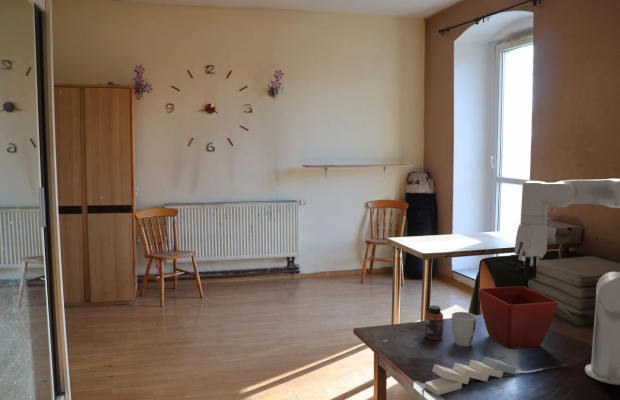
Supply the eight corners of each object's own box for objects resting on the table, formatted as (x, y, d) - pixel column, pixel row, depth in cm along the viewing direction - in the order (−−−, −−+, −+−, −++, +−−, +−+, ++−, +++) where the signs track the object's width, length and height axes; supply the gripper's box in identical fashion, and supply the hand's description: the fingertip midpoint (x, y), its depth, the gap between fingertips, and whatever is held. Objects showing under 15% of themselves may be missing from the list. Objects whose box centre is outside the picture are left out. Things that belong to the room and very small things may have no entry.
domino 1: (469, 377, 145) (443, 370, 143) (467, 384, 145) (441, 377, 142) (459, 371, 150) (434, 364, 147) (457, 377, 150) (432, 370, 147)
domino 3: (489, 375, 148) (466, 369, 145) (487, 381, 148) (464, 375, 145) (477, 368, 153) (454, 362, 149) (475, 374, 153) (452, 369, 149)
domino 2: (461, 383, 144) (437, 389, 140) (461, 389, 144) (437, 396, 140) (449, 375, 149) (425, 382, 144) (448, 382, 149) (425, 389, 144)
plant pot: (556, 349, 173) (559, 301, 171) (507, 354, 168) (510, 304, 166) (520, 329, 191) (523, 285, 189) (475, 333, 187) (477, 288, 185)
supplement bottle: (444, 336, 183) (445, 306, 182) (439, 342, 178) (440, 310, 177) (428, 333, 186) (429, 303, 185) (422, 338, 181) (424, 307, 180)
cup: (476, 349, 172) (477, 320, 171) (451, 347, 174) (452, 318, 173) (473, 340, 180) (475, 312, 179) (449, 338, 182) (451, 311, 180)
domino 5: (516, 368, 153) (497, 363, 149) (514, 374, 153) (495, 369, 149) (503, 361, 158) (484, 356, 154) (501, 367, 158) (482, 362, 153)
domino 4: (503, 371, 151) (483, 366, 147) (501, 378, 151) (481, 372, 147) (490, 365, 155) (470, 359, 151) (488, 371, 155) (468, 366, 151)
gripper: (538, 217, 166) (534, 272, 168) (507, 220, 159) (504, 277, 161) (559, 220, 160) (555, 277, 162) (528, 223, 152) (524, 283, 155)
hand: (530, 277), depth 161 cm, fingers closed
